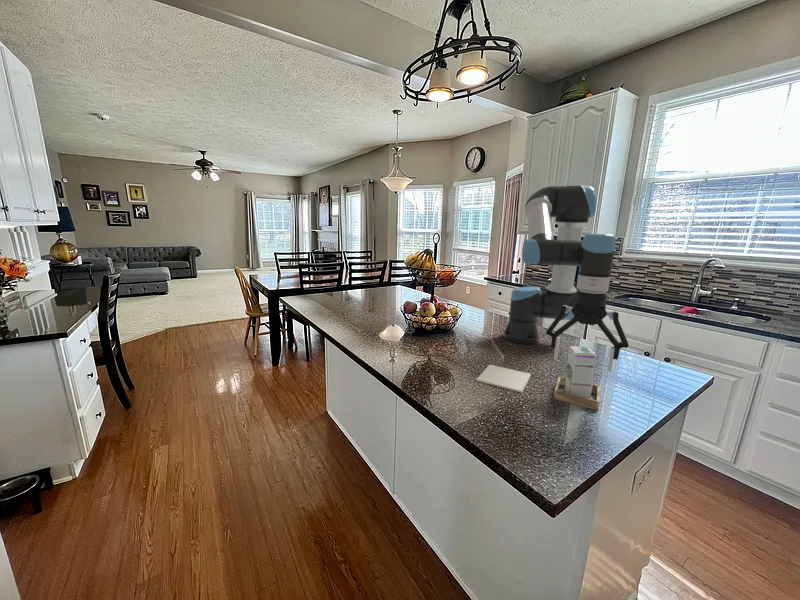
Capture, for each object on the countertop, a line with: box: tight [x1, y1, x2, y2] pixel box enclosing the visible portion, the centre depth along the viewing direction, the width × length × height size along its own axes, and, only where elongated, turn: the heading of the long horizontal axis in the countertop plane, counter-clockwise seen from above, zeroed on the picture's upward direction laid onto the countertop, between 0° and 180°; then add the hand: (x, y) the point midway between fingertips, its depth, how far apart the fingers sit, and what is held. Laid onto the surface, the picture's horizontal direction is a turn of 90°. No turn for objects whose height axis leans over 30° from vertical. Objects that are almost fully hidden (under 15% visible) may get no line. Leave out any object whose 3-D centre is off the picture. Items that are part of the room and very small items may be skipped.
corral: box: [552, 376, 601, 411], centre depth 96 cm, size 11×11×2 cm
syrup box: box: [563, 345, 597, 399], centre depth 94 cm, size 6×6×14 cm
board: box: [476, 364, 532, 394], centre depth 107 cm, size 14×14×1 cm
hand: (581, 364), depth 94 cm, fingers open, 13 cm apart
